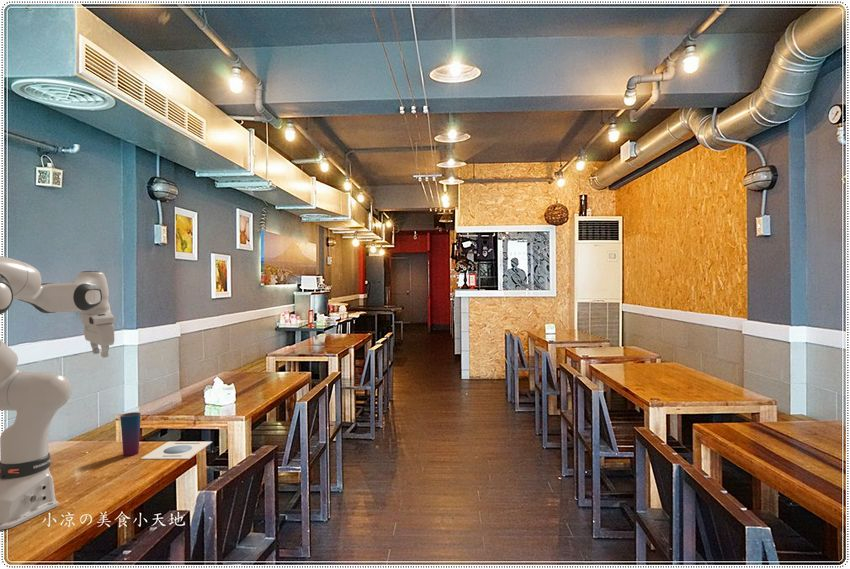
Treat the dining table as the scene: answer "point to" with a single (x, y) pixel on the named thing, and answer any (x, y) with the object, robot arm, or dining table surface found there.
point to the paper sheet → (176, 450)
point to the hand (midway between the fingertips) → (100, 355)
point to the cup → (130, 432)
